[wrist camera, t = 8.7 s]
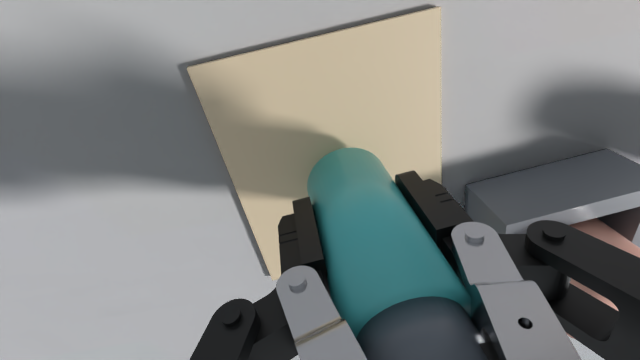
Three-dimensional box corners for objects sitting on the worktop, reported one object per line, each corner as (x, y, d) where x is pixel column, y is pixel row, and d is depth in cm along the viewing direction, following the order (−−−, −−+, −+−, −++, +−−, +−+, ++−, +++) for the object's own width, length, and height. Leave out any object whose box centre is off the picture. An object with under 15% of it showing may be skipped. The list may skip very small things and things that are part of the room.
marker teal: (298, 159, 14) (346, 384, 6) (381, 138, 14) (532, 333, 6) (316, 224, 16) (369, 459, 8) (389, 205, 16) (511, 419, 8)
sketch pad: (188, 66, 13) (186, 68, 13) (437, 6, 13) (441, 7, 13) (272, 276, 19) (272, 280, 19) (439, 233, 19) (441, 236, 19)
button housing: (465, 184, 18) (506, 225, 15) (607, 148, 18) (675, 181, 15) (461, 283, 22) (492, 330, 19) (575, 253, 22) (624, 295, 19)
